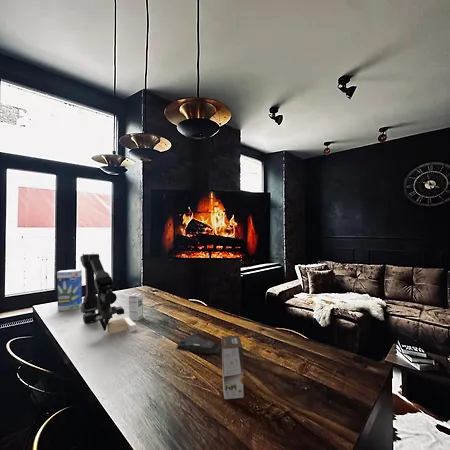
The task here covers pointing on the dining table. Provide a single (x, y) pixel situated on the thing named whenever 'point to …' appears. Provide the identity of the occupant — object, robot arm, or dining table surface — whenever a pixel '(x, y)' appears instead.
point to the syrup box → (135, 306)
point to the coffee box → (232, 367)
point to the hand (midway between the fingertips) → (104, 330)
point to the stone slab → (198, 345)
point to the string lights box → (69, 289)
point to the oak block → (116, 325)
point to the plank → (130, 324)
